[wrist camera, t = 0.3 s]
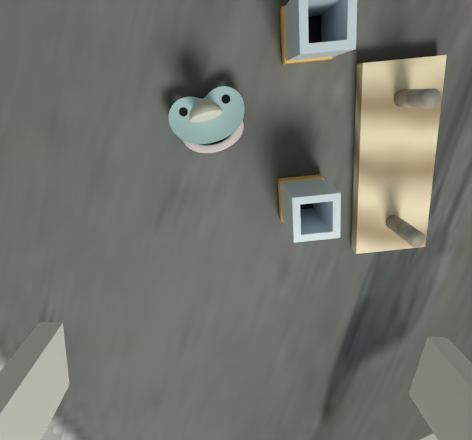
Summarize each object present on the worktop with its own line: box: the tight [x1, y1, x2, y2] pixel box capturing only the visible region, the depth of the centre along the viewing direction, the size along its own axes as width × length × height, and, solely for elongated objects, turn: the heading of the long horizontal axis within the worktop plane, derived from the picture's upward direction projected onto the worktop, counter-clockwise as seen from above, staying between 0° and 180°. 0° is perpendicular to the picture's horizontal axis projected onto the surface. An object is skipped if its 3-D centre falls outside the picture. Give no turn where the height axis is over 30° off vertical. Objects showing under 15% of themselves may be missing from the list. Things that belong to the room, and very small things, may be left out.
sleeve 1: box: [280, 0, 357, 64], centre depth 29 cm, size 5×5×7 cm
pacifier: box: [169, 86, 244, 153], centre depth 32 cm, size 7×6×6 cm
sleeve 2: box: [278, 174, 341, 242], centre depth 35 cm, size 5×5×7 cm
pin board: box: [351, 55, 447, 254], centre depth 34 cm, size 20×8×6 cm, turn 5°
